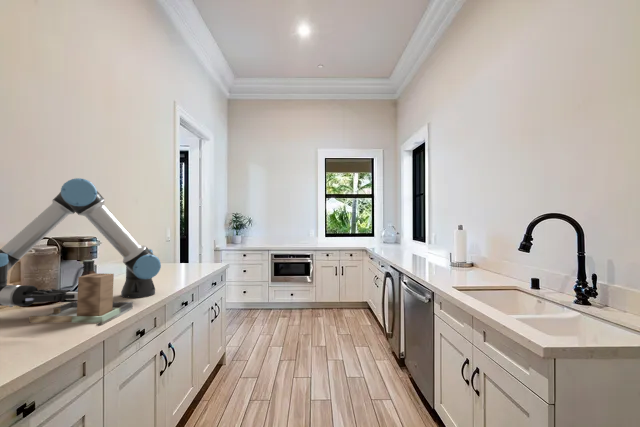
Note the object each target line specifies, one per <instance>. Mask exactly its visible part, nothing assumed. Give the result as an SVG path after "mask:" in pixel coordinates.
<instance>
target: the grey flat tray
mask: <svg viewBox="0 0 640 427" xmlns="http://www.w3.org/2000/svg"><path fill="white" fill-rule="evenodd" d="M115 309H119V314H117V315H115V316H113V317H112V318H110V319H108V320H106V321H104V316H77V301H70V302H68V303H65V304H63V305H58V306H56V307H54V308H53V313H50V314H48V315H31V316H29V323H32V324H33V323H37V324H38V323H42V324H43V323H45V324H46V323H50V324H51V323H52V324H54V323H67V324H69V323H70V324H71V323H73V324H75V323H77V324H78V323H80V324H81V323H83V324H85V323H87V324H89V323H91V324H95V323H96V326H103V325H105V324H107V323H109V322H111V321H112V320H115V319H117V318H119V317H120V316H122V315H124V314H126V313H128V312H130V311H131V310H133V302H132V301H113V305H112V311H113V310H115Z"/></svg>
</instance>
